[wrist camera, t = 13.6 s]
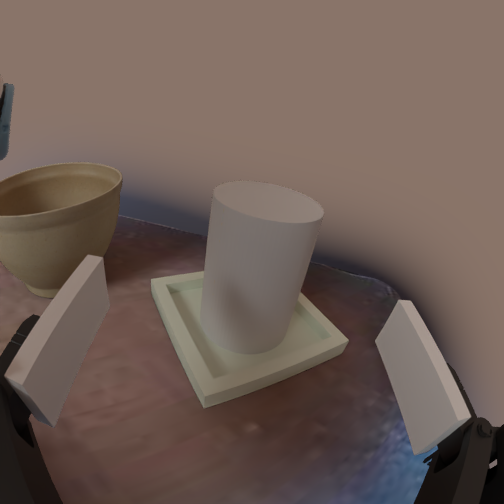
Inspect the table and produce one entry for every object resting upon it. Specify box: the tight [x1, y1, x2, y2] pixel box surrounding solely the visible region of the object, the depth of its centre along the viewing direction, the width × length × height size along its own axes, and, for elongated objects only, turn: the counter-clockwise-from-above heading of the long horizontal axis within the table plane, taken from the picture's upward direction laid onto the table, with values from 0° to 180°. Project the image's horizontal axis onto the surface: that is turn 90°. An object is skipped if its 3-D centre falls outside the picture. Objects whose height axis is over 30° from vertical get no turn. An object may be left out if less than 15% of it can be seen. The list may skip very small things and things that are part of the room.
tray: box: [151, 271, 349, 408], centre depth 27 cm, size 14×14×2 cm
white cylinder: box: [200, 181, 324, 354], centre depth 24 cm, size 8×8×12 cm
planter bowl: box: [0, 162, 122, 298], centre depth 25 cm, size 16×16×11 cm
